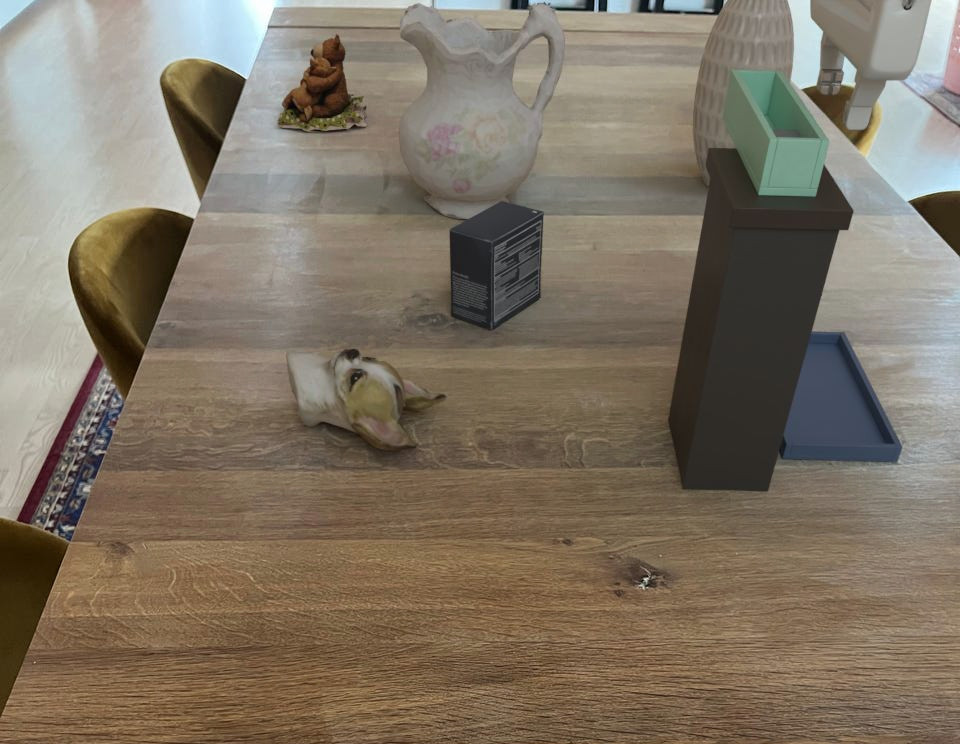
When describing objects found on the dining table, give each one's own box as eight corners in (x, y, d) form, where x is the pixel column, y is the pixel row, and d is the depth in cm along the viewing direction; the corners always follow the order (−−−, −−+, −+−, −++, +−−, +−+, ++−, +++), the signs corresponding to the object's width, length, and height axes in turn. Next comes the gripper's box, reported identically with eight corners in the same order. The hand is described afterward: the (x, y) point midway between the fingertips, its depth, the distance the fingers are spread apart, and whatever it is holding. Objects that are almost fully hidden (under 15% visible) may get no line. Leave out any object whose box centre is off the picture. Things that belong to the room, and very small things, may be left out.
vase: (785, 189, 145) (836, -38, 126) (723, 206, 140) (767, -27, 120) (725, 163, 153) (764, -55, 133) (664, 179, 148) (696, -45, 128)
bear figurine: (279, 108, 169) (270, 27, 160) (366, 106, 170) (361, 26, 161) (276, 134, 159) (266, 49, 151) (368, 132, 160) (363, 48, 152)
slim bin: (771, 120, 87) (781, 70, 84) (815, 196, 74) (829, 140, 71) (722, 119, 87) (730, 68, 84) (758, 195, 74) (769, 139, 71)
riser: (750, 419, 100) (815, 150, 82) (774, 494, 91) (854, 210, 72) (662, 416, 100) (708, 147, 82) (678, 492, 91) (733, 207, 73)
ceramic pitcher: (526, 181, 149) (529, -13, 133) (575, 220, 135) (585, 7, 119) (389, 197, 144) (374, -3, 128) (425, 239, 130) (414, 20, 114)
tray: (840, 345, 111) (844, 331, 110) (897, 462, 95) (902, 447, 94) (742, 343, 111) (745, 329, 110) (782, 459, 95) (786, 444, 94)
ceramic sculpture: (307, 309, 96) (451, 341, 94) (312, 386, 103) (447, 417, 100) (260, 362, 89) (415, 397, 87) (269, 441, 96) (413, 476, 93)
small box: (498, 284, 121) (501, 197, 114) (542, 298, 119) (547, 211, 111) (447, 315, 115) (446, 226, 108) (492, 331, 112) (494, 241, 105)
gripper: (977, -65, 66) (912, 151, 76) (893, -111, 81) (847, 75, 91) (884, -66, 66) (831, 150, 76) (817, -112, 81) (779, 74, 91)
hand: (839, 109), depth 84 cm, fingers open, 8 cm apart
